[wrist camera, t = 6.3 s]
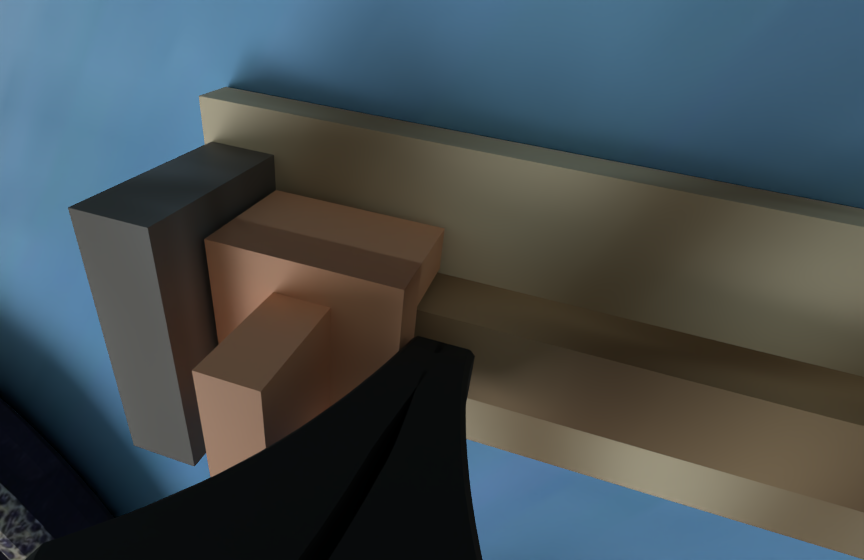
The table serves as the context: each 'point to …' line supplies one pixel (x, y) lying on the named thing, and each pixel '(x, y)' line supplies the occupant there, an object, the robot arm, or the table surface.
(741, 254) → the rail board
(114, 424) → the table surface
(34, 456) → the dish
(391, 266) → the slider
